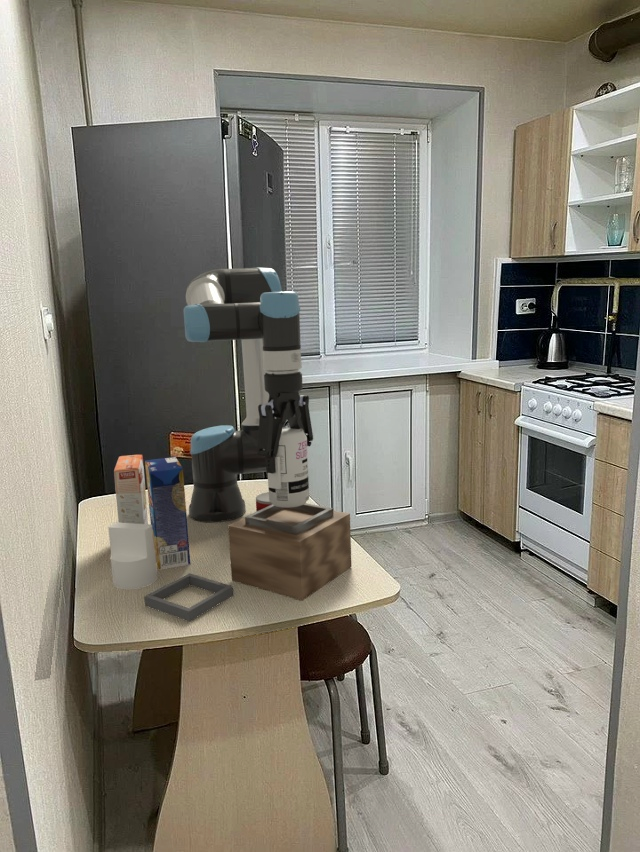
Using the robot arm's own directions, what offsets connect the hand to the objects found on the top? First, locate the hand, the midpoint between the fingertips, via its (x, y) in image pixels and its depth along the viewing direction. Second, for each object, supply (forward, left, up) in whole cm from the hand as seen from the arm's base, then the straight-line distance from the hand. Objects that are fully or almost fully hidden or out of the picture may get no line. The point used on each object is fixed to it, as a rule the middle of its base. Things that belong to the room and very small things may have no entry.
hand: (288, 482), depth 134 cm
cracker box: (+6, -42, -20) cm, 47 cm away
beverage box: (+7, -29, -20) cm, 36 cm away
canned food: (-13, -15, -20) cm, 28 cm away
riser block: (0, 0, -20) cm, 20 cm away
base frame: (+20, -10, -20) cm, 30 cm away
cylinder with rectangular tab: (+19, -27, -20) cm, 39 cm away
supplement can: (0, 0, -4) cm, 4 cm away
